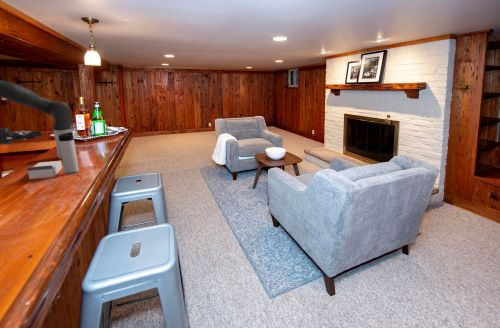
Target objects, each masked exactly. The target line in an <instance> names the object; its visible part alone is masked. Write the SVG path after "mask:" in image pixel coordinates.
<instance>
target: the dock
mask: <svg viewBox="0 0 500 328" xmlns="http://www.w3.org/2000/svg"><path fill="white" fill-rule="evenodd" d="M62 165H63V163H62V161H61V160H57V161H42V162H41V161H40V162H38V163H36V164H35V165H33V166H27V167H26V169H27V174H28V178H29V180H32V179H45V178H54V177H55V176H56V175H57V174H58V173H59V172H60V171H61V170H62V169H63V166H62Z"/></svg>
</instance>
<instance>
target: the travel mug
mask: <svg viewBox="0 0 500 328" xmlns="http://www.w3.org/2000/svg"><path fill="white" fill-rule="evenodd" d="M58 137H59V143H60V149H61V154H62V159H61V160H62V165H63V166H62V167H63V170H64V174H66V175H75V174H78V173H80V169H79V162H78V156H77V151H76V144H75V140H74V139H75V138H74V133H73V131H72V132H69V133H64V134H61V135H59V136H58Z"/></svg>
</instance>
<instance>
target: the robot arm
mask: <svg viewBox="0 0 500 328" xmlns="http://www.w3.org/2000/svg"><path fill="white" fill-rule="evenodd" d="M0 98H3V99H5V100H8V101H10V102H13V103H16V104H18V105H22V106H25V107H28V108H33V109H36V110H38V111H40V112H43V113H45V114H47V115H48V116H51V117H53V118H54V123H53V125H52V129H53V136H54V140H55V141H54V142H55V146H56V152H57V158H58V159H59V160H62V154H61V149H60V143H59V137H58V136H59V135H61V134H64V133H69V132H72V133H73V130H72V126H73V125H72V124H73V121H72V120H73V119H72V112H71V107H70V106H69V105H68V103H67V102H64V101H55V100H52V99H51V100H50V99H48V98H45V97H42V96H40V95H38V94H37V93H35V92H34V91H32V90H31V89H29V88H27V87H24V86H22V85H21V84H17V83H15V82H11V81H6V80H1V79H0ZM41 136H43V132H42V131H40V130H39V131H38V130H37V131H33V130H21V131H20V130H15V131H12V130H11V129H10V128H9V127H0V145H11V144H12V143H13V142H17V141H19V142H20V141H21V142H22V141H25V140H34V139H37V137H41Z"/></svg>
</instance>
